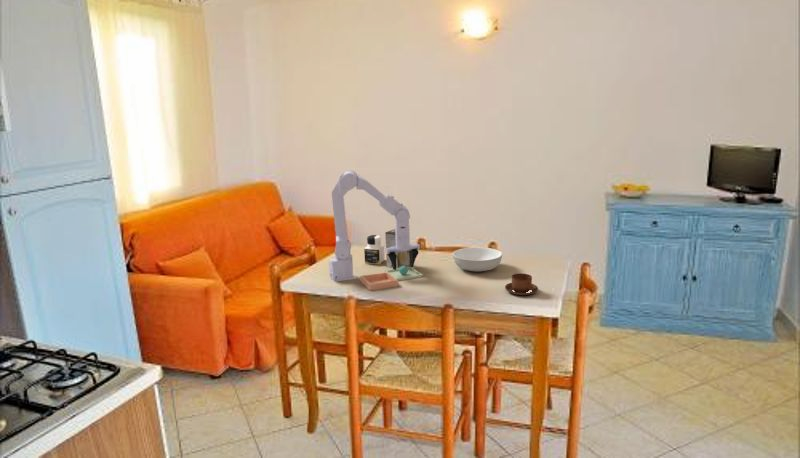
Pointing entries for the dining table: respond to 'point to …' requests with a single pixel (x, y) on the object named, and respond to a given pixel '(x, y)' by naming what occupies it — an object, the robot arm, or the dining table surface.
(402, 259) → the coffee box
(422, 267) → the dining table surface
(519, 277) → the cup and saucer
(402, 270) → the ball
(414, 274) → the tray
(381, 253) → the medicine bottle
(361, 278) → the dish
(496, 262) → the serving bowl
